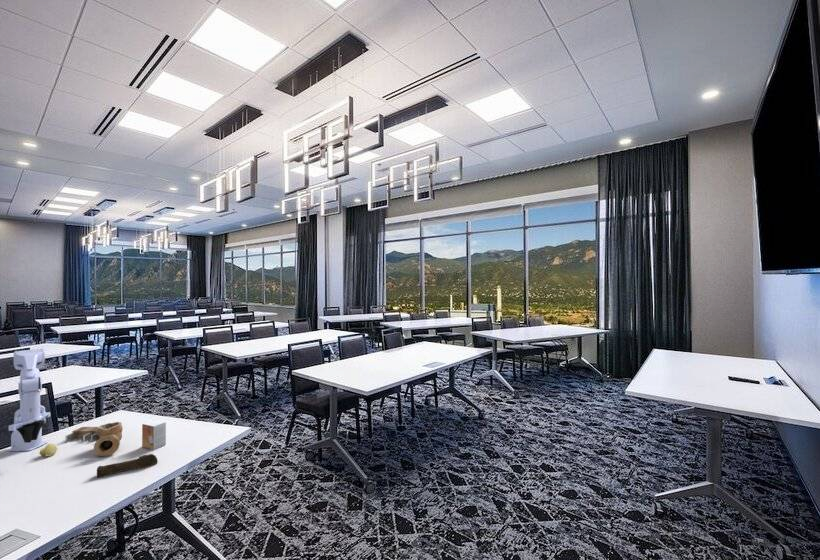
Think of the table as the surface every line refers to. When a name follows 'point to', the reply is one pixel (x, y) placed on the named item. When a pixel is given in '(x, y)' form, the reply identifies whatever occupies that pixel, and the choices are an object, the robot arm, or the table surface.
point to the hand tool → (127, 465)
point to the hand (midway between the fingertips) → (30, 441)
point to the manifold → (83, 434)
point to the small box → (153, 434)
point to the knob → (48, 450)
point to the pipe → (108, 439)
